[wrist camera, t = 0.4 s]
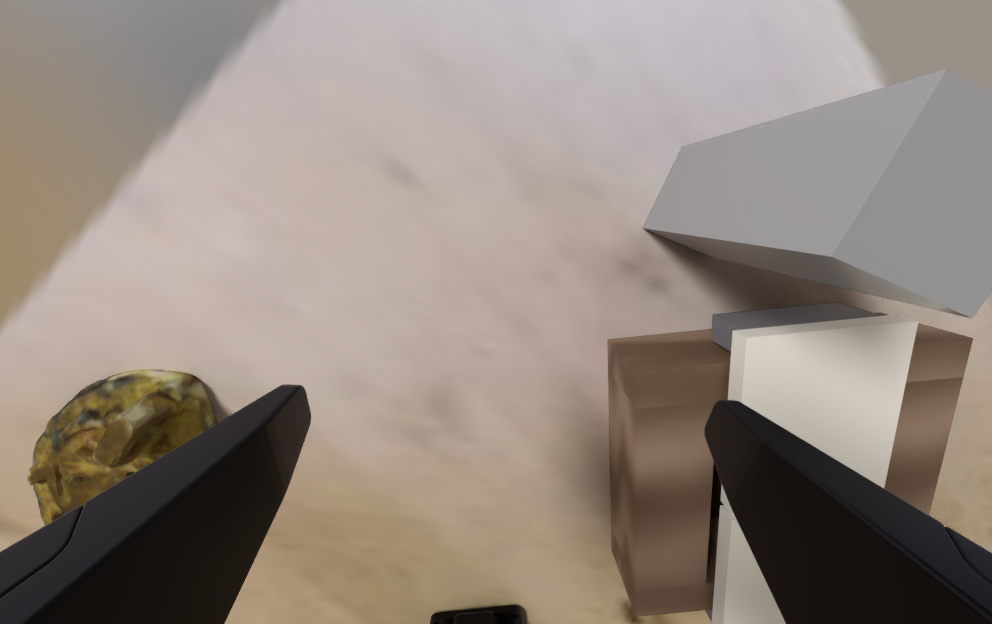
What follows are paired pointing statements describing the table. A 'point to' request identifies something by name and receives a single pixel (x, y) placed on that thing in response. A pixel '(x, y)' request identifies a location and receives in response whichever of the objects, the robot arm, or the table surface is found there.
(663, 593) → the box
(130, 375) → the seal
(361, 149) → the table surface
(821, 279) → the grey stone block
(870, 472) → the panel
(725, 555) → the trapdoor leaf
